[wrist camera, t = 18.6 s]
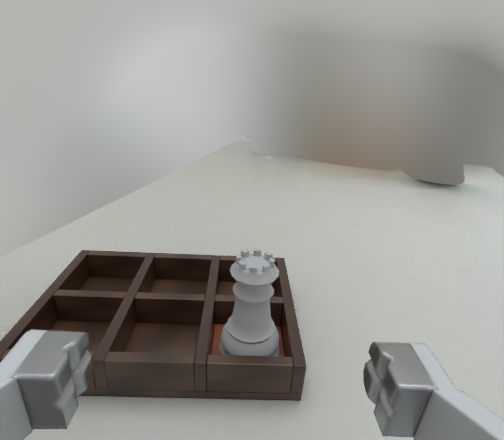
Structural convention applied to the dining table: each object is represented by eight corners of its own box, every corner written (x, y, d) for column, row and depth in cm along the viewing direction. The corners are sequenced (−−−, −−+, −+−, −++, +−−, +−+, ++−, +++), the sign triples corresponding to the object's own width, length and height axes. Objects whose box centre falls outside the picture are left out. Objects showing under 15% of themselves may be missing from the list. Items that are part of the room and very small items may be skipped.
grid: (-3, 393, 22) (-15, 358, 21) (86, 276, 34) (81, 250, 33) (300, 400, 23) (306, 366, 21) (281, 283, 35) (284, 257, 34)
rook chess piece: (232, 323, 28) (235, 237, 25) (285, 338, 27) (296, 249, 23) (209, 364, 24) (209, 267, 21) (269, 383, 23) (280, 284, 20)
